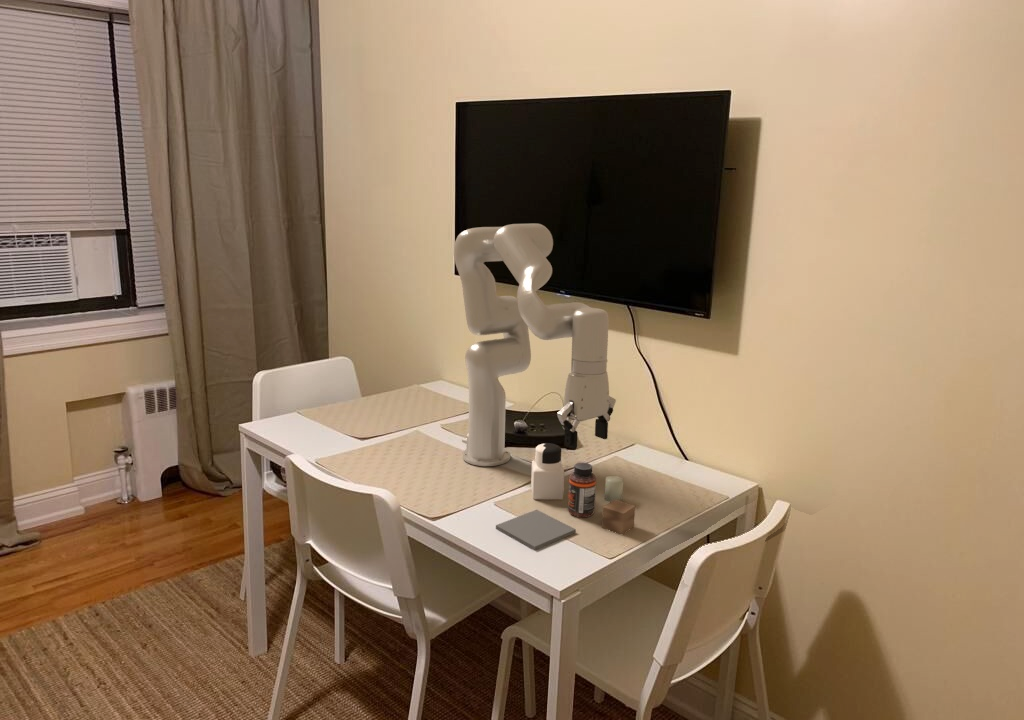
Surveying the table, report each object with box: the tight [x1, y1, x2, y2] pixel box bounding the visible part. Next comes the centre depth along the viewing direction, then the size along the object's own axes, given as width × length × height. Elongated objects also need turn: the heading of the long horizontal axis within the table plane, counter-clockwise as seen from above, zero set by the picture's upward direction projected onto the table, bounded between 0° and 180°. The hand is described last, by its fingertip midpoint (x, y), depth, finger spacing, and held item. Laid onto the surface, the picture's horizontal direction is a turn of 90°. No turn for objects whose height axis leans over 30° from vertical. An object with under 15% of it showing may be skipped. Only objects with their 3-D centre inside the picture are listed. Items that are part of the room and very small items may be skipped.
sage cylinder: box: [604, 475, 624, 503], centre depth 176 cm, size 4×4×5 cm
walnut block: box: [601, 499, 636, 535], centre depth 162 cm, size 5×5×5 cm
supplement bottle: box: [567, 461, 597, 518], centre depth 168 cm, size 6×6×11 cm
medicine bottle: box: [530, 442, 565, 501], centre depth 177 cm, size 7×7×12 cm
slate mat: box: [495, 509, 577, 551], centre depth 160 cm, size 12×12×1 cm
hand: (586, 442), depth 165 cm, fingers open, 9 cm apart
